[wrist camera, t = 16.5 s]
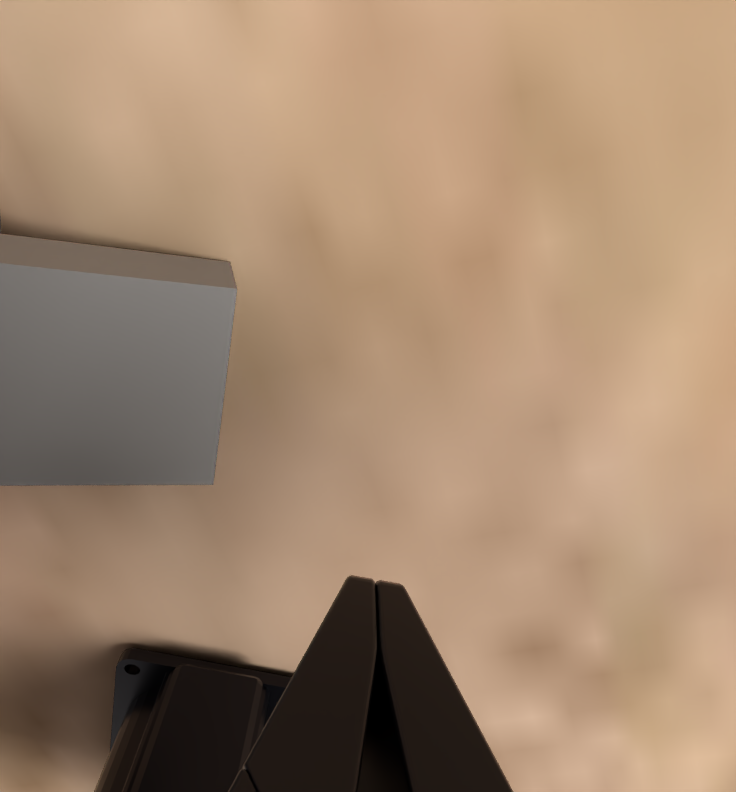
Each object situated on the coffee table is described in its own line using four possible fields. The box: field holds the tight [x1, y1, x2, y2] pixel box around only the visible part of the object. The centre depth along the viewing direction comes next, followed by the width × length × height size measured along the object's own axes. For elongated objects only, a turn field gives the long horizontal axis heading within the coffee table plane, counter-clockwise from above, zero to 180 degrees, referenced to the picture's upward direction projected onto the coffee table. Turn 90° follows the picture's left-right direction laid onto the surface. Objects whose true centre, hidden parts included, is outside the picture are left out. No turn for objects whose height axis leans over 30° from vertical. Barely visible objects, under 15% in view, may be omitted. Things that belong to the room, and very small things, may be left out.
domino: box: [0, 234, 237, 486], centre depth 12 cm, size 5×2×8 cm
